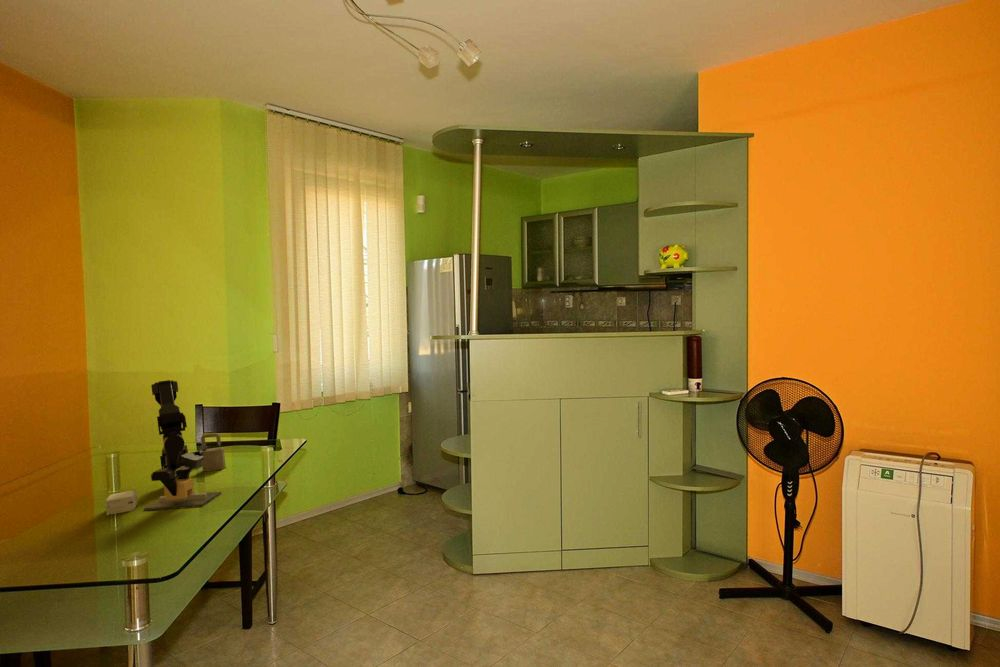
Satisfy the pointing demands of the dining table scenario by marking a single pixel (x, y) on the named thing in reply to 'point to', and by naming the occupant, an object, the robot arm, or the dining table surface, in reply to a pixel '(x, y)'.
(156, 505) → the plate
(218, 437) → the padlock
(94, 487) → the dining table surface
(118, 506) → the small box
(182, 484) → the block
